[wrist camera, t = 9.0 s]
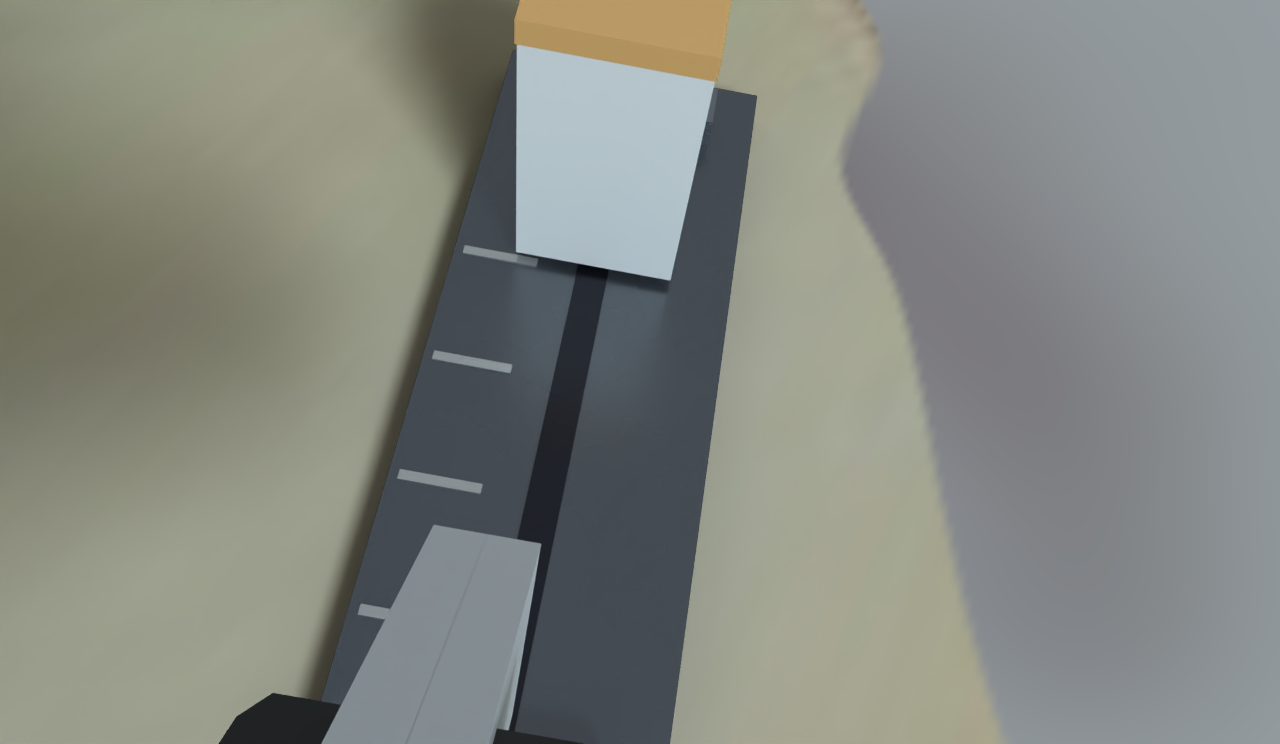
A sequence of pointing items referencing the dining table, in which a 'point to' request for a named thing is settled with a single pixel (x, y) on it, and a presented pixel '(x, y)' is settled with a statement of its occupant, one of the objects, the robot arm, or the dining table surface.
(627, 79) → the fader knob
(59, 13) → the dining table surface
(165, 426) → the dining table surface
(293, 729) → the robot arm
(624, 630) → the board
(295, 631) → the dining table surface
